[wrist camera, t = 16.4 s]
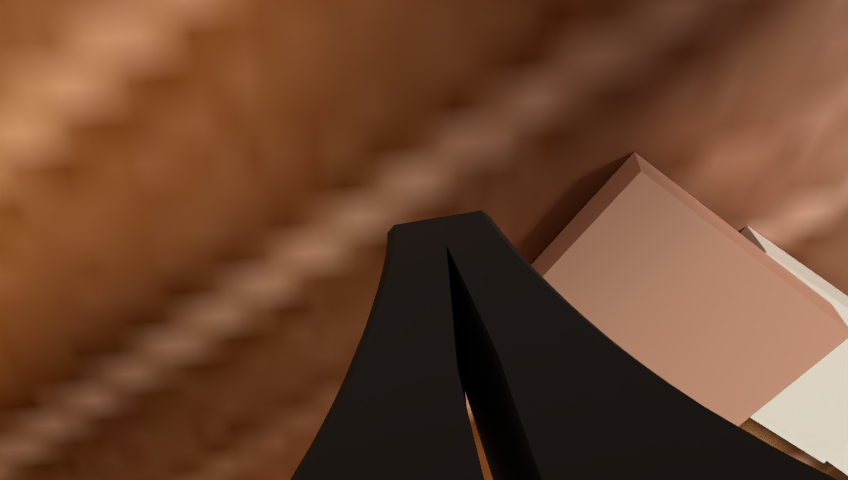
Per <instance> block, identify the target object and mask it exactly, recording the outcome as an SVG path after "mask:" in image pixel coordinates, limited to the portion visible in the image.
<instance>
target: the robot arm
mask: <svg viewBox="0 0 848 480" xmlns="http://www.w3.org/2000/svg"><path fill="white" fill-rule="evenodd" d="M465 392H466V395H467V398H468V401H469V405H470V408H471V411H472V414H473V417H474V420H475V424H476V427H477V430H478V433H479V436H480V440H481V443H482V446H483V449H484V452H485V455H486V458H487V462H488V465H489V468H490V471H491V474H492V477H493V480H836V479H834V478H832V477H830V476H829V475H827V474H825V473H823V472H821V471H819V470H817V469H815V468H813V467H811V466H809V465H807V464H805V463H803V462H801V461H799V460H797V459H795V458H793V457H791V456H789V455H787V454H785V453H783V452H782V451H780V450H778V449H776V448H774V447H773V446H771V445H769V444H767V443H766V442H764V441H762V440H760V439H759V438H757V437H755V436H754V435H752V434H750V433H749V432H747V431H745V430H743V429H742V428H740V427H738V426H737V425H735V424H733V423H732V422H730V421H728V420H726V419H725V418H723V417H721V416H720V415H718V414H716V413H714V412H713V411H711V410H709V409H708V408H706V407H704V406H703V405H701V404H700V403H698V402H697V401H695V400H694V399H692V398H691V397H689V396H688V395H686V394H685V393H683V392H682V391H680V390H679V389H677V388H676V387H674V386H673V385H671V384H670V383H668V382H667V381H665V380H664V379H663V378H661V377H660V376H658V375H657V374H656V373H654V372H653V371H652V370H650V369H649V368H647V367H646V366H645V365H643V364H642V363H640V362H639V361H638V360H636V359H635V358H634V357H633V356H631V355H630V354H629V353H627V352H626V351H625V350H624V349H622V348H621V347H620V346H619V345H617V344H616V343H615V342H614V341H612V340H611V339H610V338H609V337H607V336H606V335H605V334H604V333H603V332H602V331H600V330H599V329H598V328H597V327H596V326H595V325H593V324H592V323H591V322H590V321H589V320H588V319H586V318H585V317H584V316H583V315H582V314H581V313H580V312H579V311H577V310H576V309H575V308H574V307H573V306H572V305H571V304H570V303H569V302H568V301H566V300H565V299H564V298H563V297H562V296H561V295H560V294H559V293H558V292H557V291H556V290H555V289H554V288H553V287H552V286H551V285H550V284H549V283H548V282H547V281H546V280H545V279H544V278H543V277H542V276H541V275H540V274H539V273H538V272H537V271H536V270H535V269H534V268H533V267H532V266H531V265H530V264H529V263H528V262H527V260H526V259H525V258H524V257H523V256H522V255H521V254H520V253H519V252H518V251H517V249H516V248H515V247H514V246H513V245H512V244H511V243H510V241H509V240H508V239H507V238H506V237H505V235H504V234H503V233H502V232H501V231H500V229H499V228H498V227H497V226H496V224H495V223H494V222H493V220H492V219H491V217H490V216H488V215H487V214H486V213H484V212H483V211H476V212H470V213H464V214H458V215H452V216H446V217H440V218H434V219H428V220H422V221H416V222H410V223H404V224H398V225H394V226H393V227H392V229H391V230H390V231H389V232H388V238H387V250H386V256H385V262H384V266H383V271H382V275H381V279H380V282H379V286H378V290H377V293H376V296H375V299H374V303H373V306H372V309H371V312H370V315H369V318H368V321H367V324H366V327H365V330H364V333H363V335H362V338H361V340H360V343H359V345H358V348H357V350H356V352H355V355H354V357H353V360H352V362H351V365H350V367H349V369H348V372H347V374H346V377H345V379H344V381H343V383H342V386H341V388H340V390H339V392H338V394H337V396H336V398H335V400H334V402H333V404H332V406H331V408H330V410H329V412H328V414H327V416H326V418H325V420H324V422H323V424H322V426H321V428H320V430H319V431H318V433H317V435H316V437H315V439H314V441H313V442H312V444H311V446H310V448H309V449H308V451H307V453H306V454H305V456H304V458H303V459H302V461H301V463H300V465H299V466H298V468H297V470H296V471H295V473H294V475H293V476H292V478H291V480H484V478H483V474H482V469H481V465H480V461H479V457H478V453H477V449H476V445H475V441H474V437H473V432H472V428H471V424H470V420H469V416H468V411H467V407H466V397H465Z"/></svg>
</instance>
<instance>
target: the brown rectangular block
mask: <svg viewBox="0 0 848 480" xmlns="http://www.w3.org/2000/svg"><path fill="white" fill-rule="evenodd" d="M531 266H532V267H533V268H534V269H535V270H536V271H537V272H538V273H539V274H540V275H541V276H542V277H543V278H544V279H545V280H546V281H547V282H548V283H549V284H550V285H551V286H552V287H553V288H554V289H555V290H556V291H557V292H558V293H559V294H560V295H561V296H562V297H563V298H564V299H565V300H566V301H568V302H569V303H570V304H571V305H572V306H573V307H574V308H575V309H576V310H577V311H579V312H580V313H581V314H582V315H583V316H584V317H585V318H586V319H588V320H589V321H590V322H591V323H592V324H593V325H595V326H596V327H597V328H598V329H599V330H600V331H602V332H603V333H604V334H605V335H606V336H607V337H609V338H610V339H611V340H612V341H614V342H615V343H616V344H617V345H619V346H620V347H621V348H622V349H624V350H625V351H626V352H627V353H629V354H630V355H631V356H633V357H634V358H635V359H636V360H638V361H639V362H640V363H642V364H643V365H645V366H646V367H647V368H649V369H650V370H652V371H653V372H654V373H656V374H657V375H658V376H660V377H661V378H663V379H664V380H665V381H667V382H668V383H670V384H671V385H673V386H674V387H676V388H677V389H679V390H680V391H682V392H683V393H685V394H686V395H688V396H689V397H691V398H692V399H694V400H695V401H697V402H698V403H700V404H701V405H703V406H704V407H706V408H708V409H709V410H711V411H713V412H714V413H716V414H718V415H720V416H721V417H723V418H725V419H726V420H728V421H730V422H732V423H733V424H735V425H737V426H740V425H741V424H742V423H743V422H745V421H746V420H747V419H748V418H749V417H751V416H752V415H753V414H754V413H756V412H757V411H758V410H759V409H761V408H762V407H763V406H764V405H766V404H767V403H768V402H769V401H771V400H772V399H773V398H774V397H776V396H777V395H778V394H779V393H781V392H782V391H783V390H784V389H786V388H787V387H788V386H789V385H791V384H792V383H793V382H794V381H796V380H797V379H798V378H799V377H800V376H802V375H803V374H804V373H805V372H807V371H808V370H809V369H810V368H812V367H813V366H814V365H815V364H817V363H818V362H819V361H820V360H822V359H823V358H824V357H825V356H827V355H828V354H829V353H830V352H832V351H833V350H834V349H835V348H837V347H838V346H839V345H840V344H842V343H843V342H844V341H845V340H847V339H848V326H847V325H846V323H845V322H844V320H843V319H842V318H841V316H840V315H839V314H838V312H837V311H836V309H835V308H834V307H833V305H832V304H831V303H830V302H828V301H827V300H826V299H824V298H823V297H822V296H821V295H819V294H818V293H817V292H815V291H814V290H813V289H811V288H810V287H809V286H808V285H806V284H805V283H804V282H802V281H801V280H800V279H798V278H797V277H796V276H795V275H793V274H792V273H791V272H789V271H788V270H787V269H786V268H784V267H783V266H782V265H780V264H779V263H778V262H776V261H775V260H774V259H773V258H771V257H770V256H769V255H767V254H766V253H765V252H764V251H762V250H761V249H760V248H758V247H757V246H756V245H754V244H753V243H752V242H751V241H749V240H748V239H747V238H745V237H744V236H743V235H742V234H740V233H739V232H738V231H736V230H735V229H734V228H732V227H731V226H730V225H729V224H727V223H726V222H725V221H723V220H722V219H721V218H719V217H718V216H717V215H716V214H714V213H713V212H712V211H710V210H709V209H708V208H707V207H705V206H704V205H703V204H701V203H700V202H699V201H697V200H696V199H695V198H694V197H692V196H691V195H690V194H688V193H687V192H686V191H685V190H683V189H682V188H681V187H679V186H678V185H677V184H675V183H674V182H673V181H672V180H670V179H669V178H668V177H666V176H665V175H664V174H662V173H661V172H660V171H659V170H657V169H656V168H655V167H653V166H652V165H651V164H650V163H648V162H647V161H646V160H644V159H643V158H642V157H640V156H639V155H638V154H637V153H635V152H633V154H632V155H631V156H630V157H629V158H628V159H627V160H626V161H625V162H624V163H623V165H622V166H621V167H620V168H619V169H618V170H617V171H616V172H615V173H614V174H613V176H612V177H611V178H610V179H609V180H608V181H607V182H606V183H605V184H604V185H603V186H602V188H601V189H600V190H599V191H598V192H597V193H596V194H595V195H594V196H593V197H592V199H591V200H590V201H589V202H588V203H587V204H586V205H585V206H584V207H583V208H582V209H581V211H580V212H579V213H578V214H577V215H576V216H575V217H574V218H573V219H572V220H571V222H570V223H569V224H568V225H567V226H566V227H565V228H564V229H563V230H562V231H561V233H560V234H559V235H558V236H557V237H556V238H555V239H554V240H553V241H552V242H551V243H550V245H549V246H548V247H547V248H546V249H545V250H544V251H543V252H542V253H541V254H540V256H539V257H538V258H537V259H536V260H535V261H534V262H533V263H532V264H531Z"/></svg>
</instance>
